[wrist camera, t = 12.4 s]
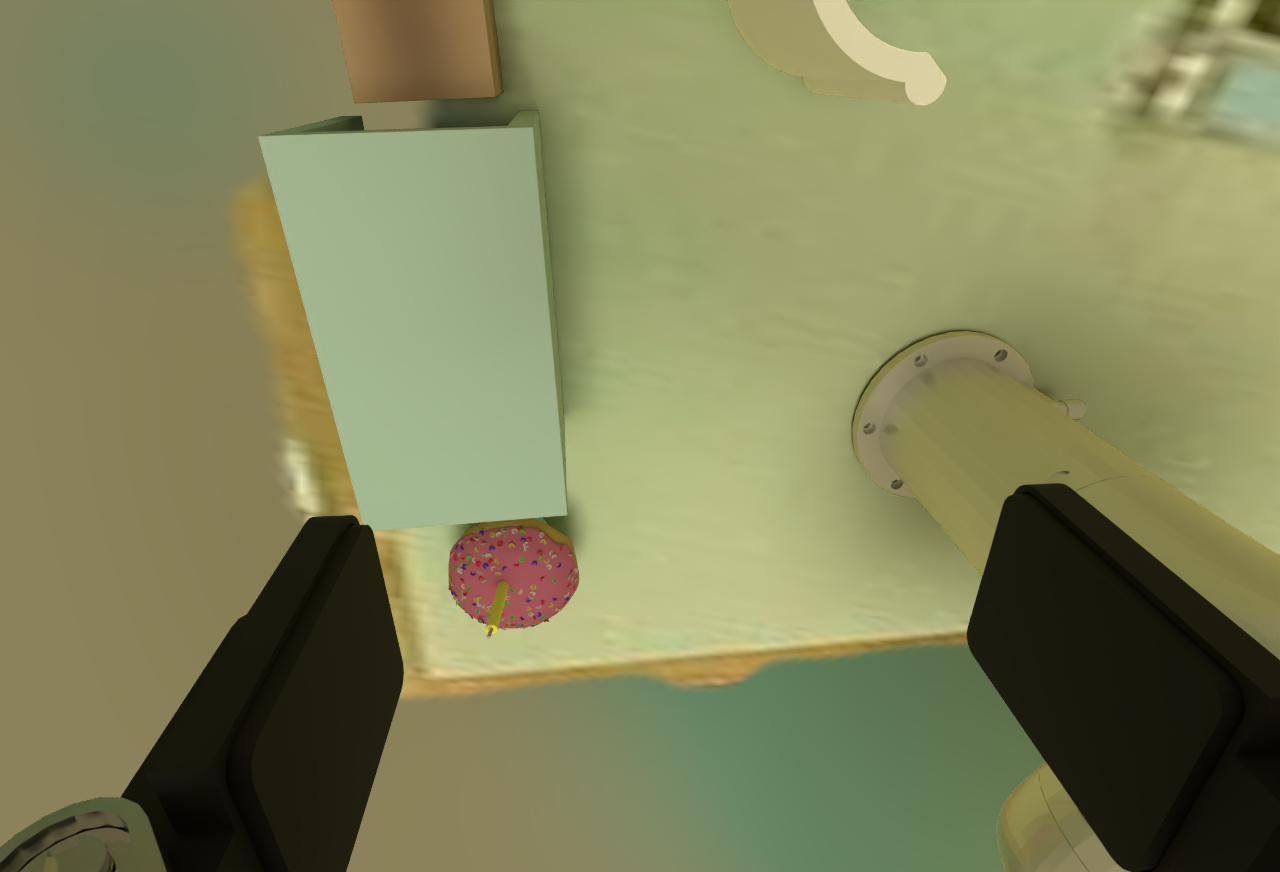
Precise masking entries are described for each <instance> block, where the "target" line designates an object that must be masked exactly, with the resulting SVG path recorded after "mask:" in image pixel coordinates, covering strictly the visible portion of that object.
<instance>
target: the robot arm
mask: <svg viewBox="0 0 1280 872" xmlns="http://www.w3.org/2000/svg"><path fill="white" fill-rule="evenodd" d="M1085 414H1086V407H1085V404H1084V402H1083V401H1082V400H1079V399H1074V400H1060V401H1058V402H1054V401H1053V400H1051V399H1050V398H1048V397H1047V396H1045V395H1044V394H1042V393H1041V392H1039V391H1038V390H1036V389H1035V384H1034V379H1033V376H1032V373H1031V370H1030V368H1029V366H1028V365H1027V363H1026V361H1025V360H1024V358H1023V357H1022V356H1021V355H1020V354H1019V353H1018V352H1017V351H1016V350H1015V349H1013V348H1012V347H1011V346H1009V345H1008V344H1006V343H1004V342H1003V341H1001V340H999V339H998V338H995V337H992V336H990V335H987V334H984V333H978V332H971V331H960V332H949V333H944V334H940V335H936V336H932V337H930V338H927V339H925V340H923V341H920V342H918V343H916V344H914V345H912V346H911V347H909V348H907V349H906V350H904V351H902V352H901V353H899V354H898V355H897V356H895V357H894V358H893V359H892V360H891V361H890V362H888V363H887V364H886V365H885V366H884V367H883V368H882V369H881V370H880V371H879V373H878V374H877V375H876V376H875V377H874V378H873V379H872V381H871V382H870V384H869V385H868V387H867V389H866V390H865V392H864V394H863V395H862V397H861V400H860V402H859V405H858V407H857V410H856V412H855V417H854V422H853V446H854V450H855V454H856V457H857V459H858V461H859V462H860V464H861V466H862V468H863V469H864V470H865V472H866V473H867V474H868V476H869V477H870V478H871V479H872V480H873V481H874V482H875V483H876V484H878V485H879V486H880V487H881V488H883V489H885V490H886V491H888V492H890V493H892V494H896V495H899V496H903V497H907V498H917V499H918V500H919V501H920V503H921V504H922V505H923V506H924V507H925V509H926V510H927V511H928V512H929V513H930V514H931V516H932V517H933V518H934V519H935V520H936V522H937V523H938V524H939V525H940V526H941V528H942V529H943V530H944V531H945V532H946V533H947V535H948V536H949V537H950V538H951V539H952V541H953V542H954V543H955V544H956V545H957V547H958V548H959V549H960V550H961V551H962V552H963V554H964V555H965V556H966V557H967V558H968V560H969V561H970V562H971V563H972V564H973V566H974V567H975V568H976V569H977V570H978V571H979V573H980V574H981V575H982V580H981V583H980V587H979V590H978V594H977V597H976V601H975V604H974V608H973V611H972V615H971V618H970V622H969V625H968V629H967V640H968V645H969V648H970V651H971V653H972V654H973V656H974V657H975V659H976V660H977V662H978V663H979V665H980V666H981V668H982V669H983V671H984V672H985V674H986V675H987V676H988V678H989V679H990V681H991V682H992V684H993V685H994V687H995V688H996V690H997V691H998V693H999V694H1000V695H1001V697H1002V698H1003V700H1004V701H1005V703H1006V704H1007V706H1008V707H1009V709H1010V710H1011V712H1012V713H1013V714H1014V716H1015V717H1016V719H1017V720H1018V722H1019V723H1020V725H1021V726H1022V728H1023V729H1024V730H1025V732H1026V734H1027V735H1028V736H1029V738H1030V739H1031V741H1032V742H1033V744H1034V745H1035V746H1036V748H1037V750H1038V751H1039V752H1040V754H1041V755H1042V757H1043V758H1044V760H1045V762H1044V763H1043V764H1042V765H1041V766H1040V767H1039V768H1037V769H1036V770H1035V771H1034V772H1033V773H1032V774H1030V775H1029V776H1028V777H1027V778H1026V779H1025V780H1024V781H1023V782H1022V783H1021V784H1020V785H1018V786H1017V787H1016V789H1014V791H1013V792H1012V793H1011V795H1010V796H1009V797H1008V798H1007V800H1006V801H1005V803H1004V805H1003V807H1002V809H1001V812H1000V815H999V818H998V822H997V835H996V836H997V842H998V849H999V854H1000V857H1001V860H1002V863H1003V866H1004V868H1005V871H1006V872H1280V555H1279V554H1277V553H1275V552H1273V551H1272V550H1270V549H1268V548H1267V547H1265V546H1263V545H1262V544H1260V543H1259V542H1257V541H1256V540H1254V539H1252V538H1251V537H1249V536H1248V535H1246V534H1244V533H1243V532H1241V531H1240V530H1238V529H1236V528H1235V527H1233V526H1232V525H1230V524H1229V523H1227V522H1225V521H1224V520H1222V519H1221V518H1219V517H1217V516H1216V515H1214V514H1213V513H1211V512H1209V511H1208V510H1206V509H1205V508H1203V507H1202V506H1200V505H1199V504H1197V503H1196V502H1194V501H1193V500H1191V499H1190V498H1188V497H1187V496H1186V495H1184V494H1183V493H1181V492H1180V491H1178V490H1177V489H1175V488H1174V487H1172V486H1171V485H1169V484H1167V483H1166V482H1164V481H1163V480H1161V479H1160V478H1158V477H1157V476H1155V475H1154V474H1152V473H1151V472H1149V471H1148V470H1146V469H1145V468H1143V467H1142V466H1141V465H1139V464H1138V463H1136V462H1135V461H1133V460H1132V459H1130V458H1129V457H1127V456H1126V455H1124V454H1123V453H1121V452H1120V451H1118V450H1117V449H1116V448H1114V447H1113V446H1111V445H1110V444H1108V443H1107V442H1105V441H1104V440H1102V439H1101V438H1099V437H1098V436H1096V435H1095V434H1093V433H1092V432H1091V431H1090V430H1089V429H1088V428H1085V427H1083V426H1082V425H1080V424H1079V423H1077V422H1076V421H1074V420H1080V419H1082V418H1083V417H1084V416H1085ZM403 675H404V670H403V661H402V656H401V652H400V648H399V643H398V639H397V635H396V630H395V626H394V621H393V617H392V613H391V608H390V604H389V600H388V595H387V591H386V586H385V582H384V578H383V573H382V569H381V565H380V560H379V556H378V551H377V547H376V543H375V538H374V534H373V531H372V528H371V527H370V526H369V525H360V524H359V521H358V520H357V518H356V517H355V516H353V515H345V516H323V517H312V518H309V520H308V521H307V522H306V523H305V525H304V526H303V528H302V529H301V531H300V532H299V534H298V536H297V537H296V539H295V540H294V542H293V543H292V545H291V546H290V548H289V550H288V551H287V553H286V554H285V556H284V557H283V559H282V561H281V562H280V564H279V565H278V567H277V568H276V570H275V571H274V573H273V575H272V576H271V578H270V579H269V581H268V583H267V584H266V586H265V587H264V589H263V590H262V592H261V594H260V595H259V596H258V598H257V600H256V601H255V603H254V604H253V606H252V607H251V609H250V610H249V612H248V614H247V615H245V616H243V617H241V618H239V619H238V620H237V622H236V623H235V624H234V625H233V626H232V627H231V629H230V631H229V632H228V634H227V635H226V637H225V638H224V640H223V641H222V643H221V645H220V646H219V648H218V649H217V650H216V652H215V654H214V655H213V657H212V658H211V660H210V661H209V663H208V664H207V666H206V667H205V669H204V670H203V672H202V673H201V675H200V676H199V678H198V679H197V681H196V683H195V684H194V686H193V687H192V689H191V690H190V692H189V693H188V695H187V696H186V698H185V699H184V701H183V702H182V704H181V705H180V707H179V709H178V710H177V712H176V713H175V715H174V716H173V718H172V719H171V721H170V722H169V724H168V725H167V727H166V728H165V730H164V731H163V733H162V734H161V736H160V738H159V739H158V741H157V742H156V744H155V745H154V747H153V748H152V750H151V751H150V753H149V754H148V756H147V757H146V759H145V761H144V762H143V764H142V765H141V767H140V768H139V770H138V771H137V773H136V774H135V776H134V777H133V779H132V780H131V782H130V783H129V785H128V787H127V788H126V790H125V791H124V793H123V794H122V796H121V797H98V798H94V799H90V800H86V801H82V802H78V803H74V804H71V805H69V806H67V807H64V808H62V809H60V810H58V811H55V812H53V813H51V814H49V815H46V816H44V817H42V818H41V819H39V820H38V821H36V822H35V823H33V824H31V825H30V826H28V827H27V828H25V829H23V830H22V831H20V832H19V833H17V834H15V835H14V836H13V837H12V838H11V839H10V840H8V841H7V842H6V843H5V844H4V845H2V846H1V847H0V872H346V870H347V867H348V864H349V861H350V857H351V854H352V850H353V847H354V844H355V841H356V837H357V834H358V831H359V828H360V824H361V821H362V818H363V814H364V811H365V808H366V805H367V801H368V798H369V795H370V791H371V788H372V785H373V782H374V778H375V775H376V772H377V768H378V765H379V762H380V758H381V755H382V752H383V749H384V745H385V742H386V739H387V736H388V732H389V729H390V726H391V722H392V719H393V716H394V713H395V709H396V706H397V703H398V699H399V696H400V693H401V689H402V685H403Z"/></svg>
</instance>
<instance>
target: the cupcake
mask: <svg viewBox="0 0 1280 872" xmlns="http://www.w3.org/2000/svg"><path fill="white" fill-rule="evenodd" d="M578 584H579V571H578V565H577V560H576V555H575V551H574V547H573V544H572V541H571V540H570V538H569V537H567V536H566V535H564V534H562V533H561V532H559V531H558V530H556V529H555V528H553V527H551V526H549V525H548V524H547V522H546V521H545V519H544V518H543V517H539V518H527V519H515V520H503V521H491V522H481V523H479V524H478V525H476V526H474V527H472V528H470V529H468V530H467V531H466V532H465V533H464V534H463V535H462V537H461V539H459V540H458V541H457V542H456V544H455V545H454V546H453V548H452V550H451V552H450V559H449V590H451V594H452V595H453V598H454V600H456V605H457V603H458V605H459V606H460V607H461V608H462V609H463V610H464V611H465V612H466V613H468V614H469V615H470V616H471V618H472V619H473V617H474V618H476V619H477V620H478V622H480V623H483V624H484V623H485V624H487V627H486V631H487V632H488V635H487V636H486V637H487V638H490V637H491V634H495V633H496V632H497V631H498V629H499V628H502V629H503V630H506V628H527V627H528V626H529V627H530V626H532V627H533V626H536V625H538V624H540V623H542V622H543V621H544V622H546V621H547V622H549V621H548V619H549V618H551V617H552V616H554V615H555V614H557V613H558V612H560V611H561V610H562V609H563V608H564V607H565V605H566V604H567V603H568V602H569V600H570V599H571V597H572V595H573V594H574V592H575V591H576V589H577V587H578ZM472 616H473V617H472Z"/></svg>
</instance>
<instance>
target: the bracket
mask: <svg viewBox="0 0 1280 872" xmlns="http://www.w3.org/2000/svg"><path fill="white" fill-rule="evenodd" d="M727 1H728V4H729V8H730V11H731V14H732V17H733V19H734V22H735V24H736V26H737V28H738V30H739V32H740V34H741V35H742V37H743V39H744V40H745V41H746V43H747V44H748V45H749V47H750V48H751V49H752V50H753V51H754V52H755V53H756V54H757V55H758V56H759V57H760V58H761V59H762V60H763V61H765V62H766V63H768V64H769V65H771V66H772V67H774V68H776V69H778V70H780V71H782V72H785V73H787V74H791V75H795V76H800V77H803V82H804V85H805V87H806V89H807V90H808V91H810V92H811V93H815V94H824V95H833V96H842V97H851V98H860V99H869V100H878V101H886V102H895V103H904V104H913V105H927V104H930V103H932V102H933V101H935V100H936V99H937V98H938V97H939V96H940V95H941V93H942V92H943V90H944V88H945V85H946V81H947V79H946V77H945V76H944V74H943V73H942V71H941V70H940V69H939V67H938V66H937V64H936V63H935V62H934V60H933V59H932V57H931V56H930V54H929V53H928V52H913V51H906V50H902V49H899V48H896V47H893V46H891V45H889V44H887V43H885V42H883V41H881V40H880V39H878V38H877V37H875V36H874V35H873V34H871V33H870V32H869V31H868V30H867V29H866V28H865V27H864V26H863V25H862V24H861V23H860V21H859V20H858V19H857V18H856V17H855V15H854V13H853V12H852V10H851V9H850V7H849V5H848V3H847V2H846V0H727Z"/></svg>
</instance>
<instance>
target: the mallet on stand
mask: <svg viewBox="0 0 1280 872" xmlns="http://www.w3.org/2000/svg"><path fill="white" fill-rule="evenodd" d="M332 1H333V6H334V10H335V15H336V19H337V24H338V29H339V33H340V37H341V42H342V47H343V52H344V56H345V61H346V66H347V70H348V75H349V79H350V84H351V89H352V93H353V98H354V103H373V102H395V101H418V100H440V99H463V98H485V97H496V96H498V95H500V94H502V93H503V92H504V90H503V82H502V73H501V65H500V57H499V48H498V40H497V32H496V23H495V15H494V7H493V0H332Z"/></svg>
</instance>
